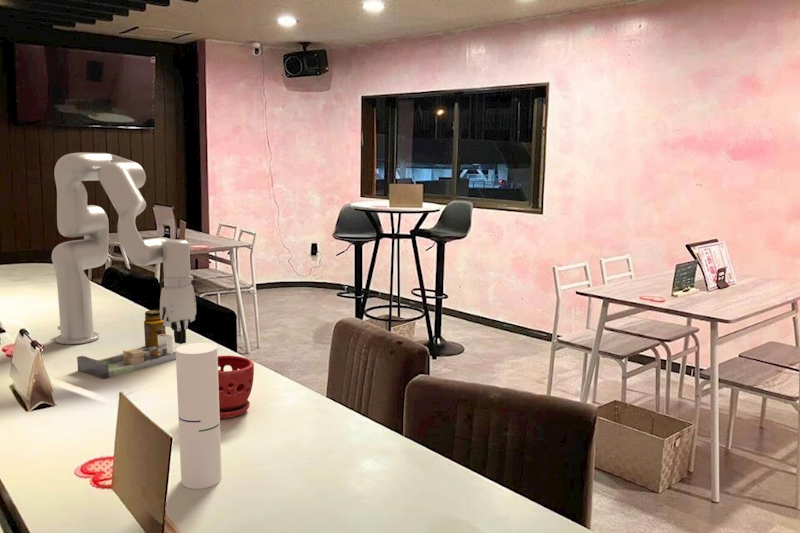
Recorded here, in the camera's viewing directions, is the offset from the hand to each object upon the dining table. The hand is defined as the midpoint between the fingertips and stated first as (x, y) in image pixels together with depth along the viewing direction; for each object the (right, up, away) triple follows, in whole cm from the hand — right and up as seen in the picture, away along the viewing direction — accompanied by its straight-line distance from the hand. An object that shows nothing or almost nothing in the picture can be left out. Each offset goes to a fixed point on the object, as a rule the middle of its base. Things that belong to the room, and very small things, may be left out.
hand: (180, 342), depth 209 cm
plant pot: (+25, -11, -45) cm, 53 cm away
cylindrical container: (+29, -17, -79) cm, 86 cm away
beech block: (-9, -4, -12) cm, 16 cm away
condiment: (-10, -3, +5) cm, 12 cm away
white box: (-4, -3, -8) cm, 9 cm away
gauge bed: (-10, -6, -13) cm, 17 cm away
